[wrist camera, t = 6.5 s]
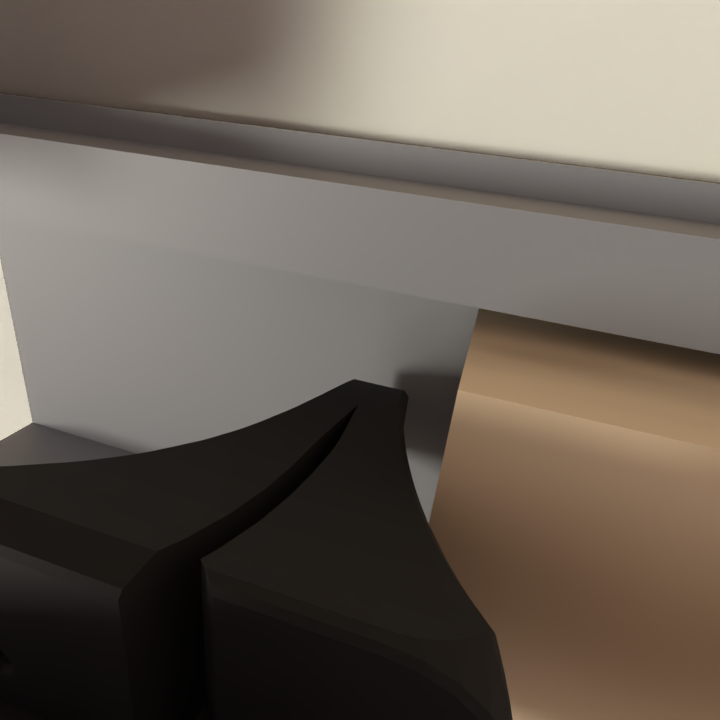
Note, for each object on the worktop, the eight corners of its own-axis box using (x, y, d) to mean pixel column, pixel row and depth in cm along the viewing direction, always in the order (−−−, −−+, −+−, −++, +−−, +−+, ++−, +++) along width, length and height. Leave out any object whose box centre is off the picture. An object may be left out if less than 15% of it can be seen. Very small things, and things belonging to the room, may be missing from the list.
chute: (829, 712, 12) (910, 862, 9) (59, 467, 16) (-23, 524, 14) (1218, 246, 7) (1590, 298, 5) (-8, 92, 12) (-148, 77, 9)
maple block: (653, 603, 11) (716, 821, 7) (428, 536, 12) (390, 698, 8) (779, 355, 8) (965, 506, 5) (481, 298, 9) (458, 390, 6)
